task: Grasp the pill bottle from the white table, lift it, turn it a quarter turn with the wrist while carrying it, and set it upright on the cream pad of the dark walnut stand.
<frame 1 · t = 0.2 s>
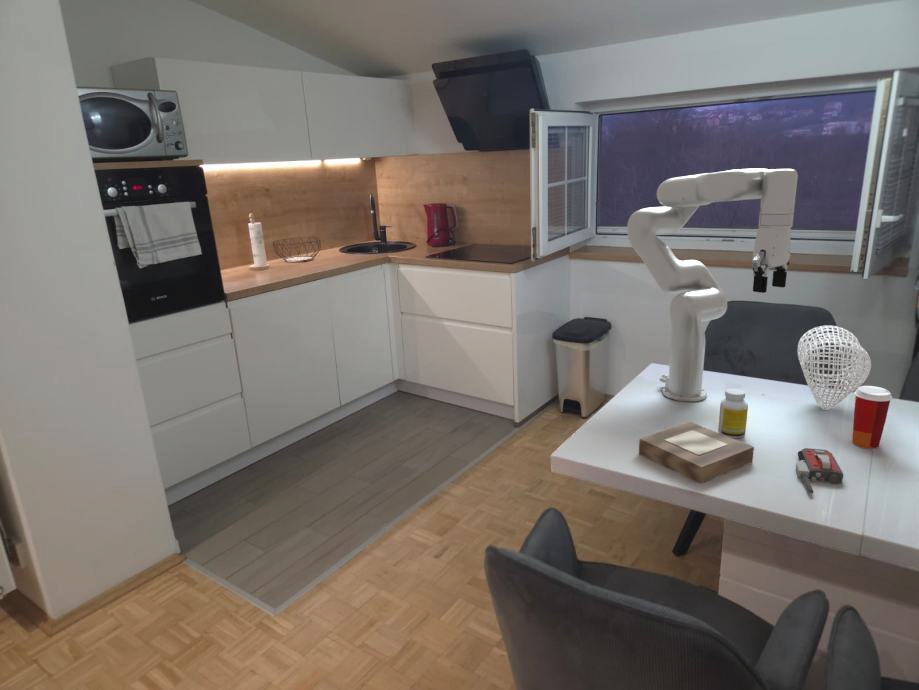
hand: (769, 289, 160), 36 cm above the table, tool pointing down, fingers open, 9 cm apart
stand: (694, 458, 150), on the table
walkie-talkie: (817, 478, 140), on the table
paper cup: (864, 444, 155), on the table
heart: (824, 410, 177), on the table
pill bottle: (731, 434, 163), on the table
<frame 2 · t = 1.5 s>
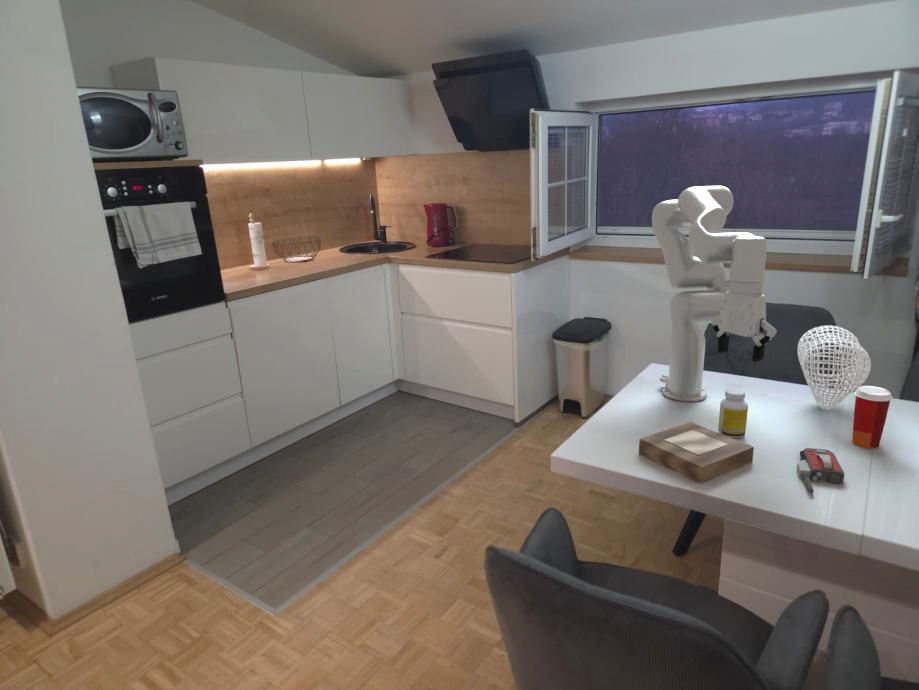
hand: (739, 356, 157), 21 cm above the table, tool pointing down, fingers open, 9 cm apart
nothing on the table moved.
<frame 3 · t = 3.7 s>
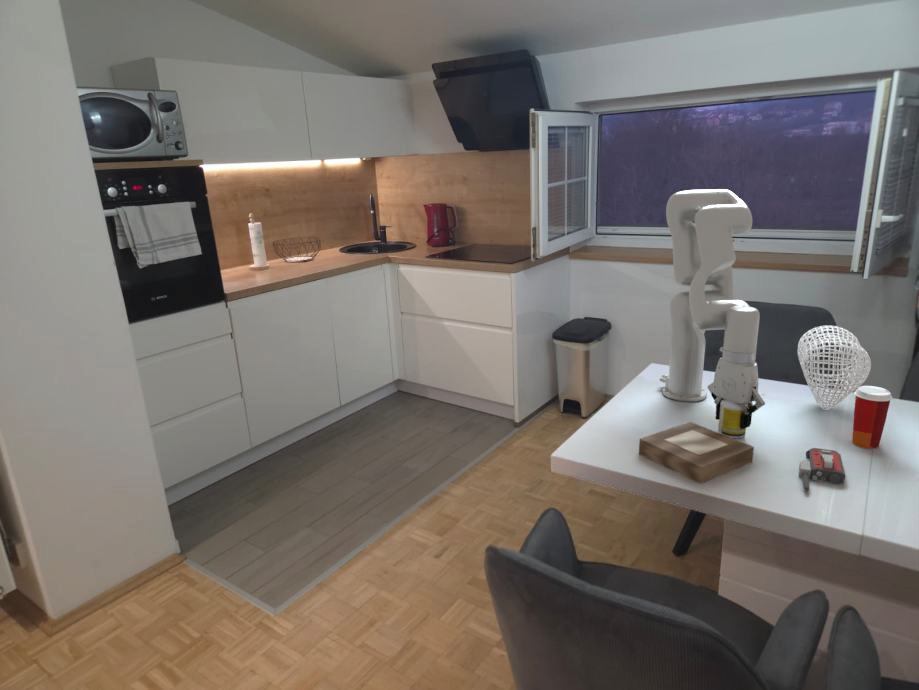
hand: (732, 422, 162), 3 cm above the table, tool pointing down, fingers closed on pill bottle, 6 cm apart
pill bottle: (731, 434, 163), on the table, touching gripper
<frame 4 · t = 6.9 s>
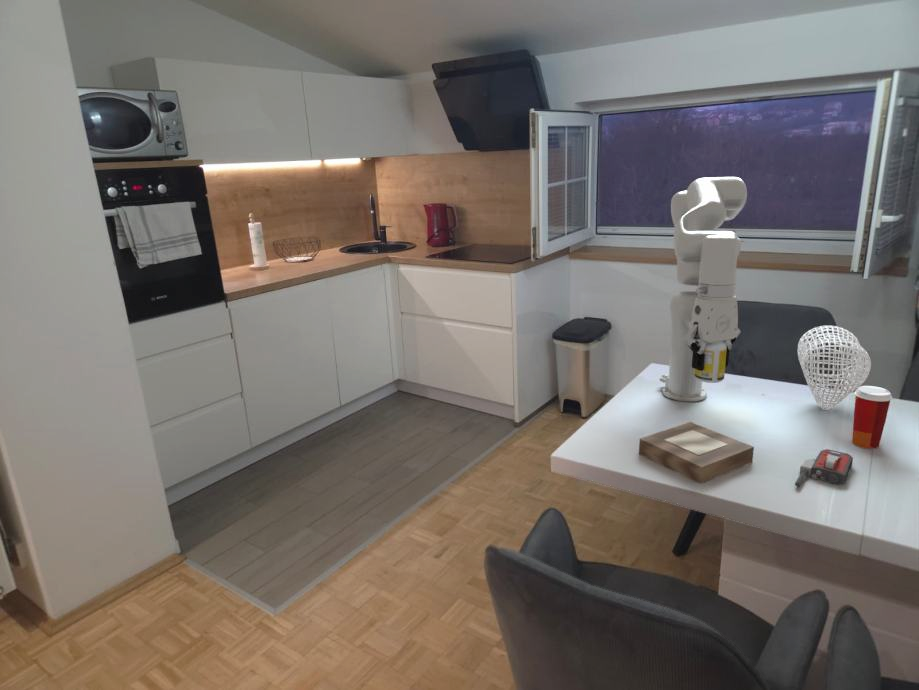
hand: (709, 366, 146), 22 cm above the table, tool pointing down, fingers closed on pill bottle, 6 cm apart
pill bottle: (708, 380, 147), point 19 cm above the table, touching gripper
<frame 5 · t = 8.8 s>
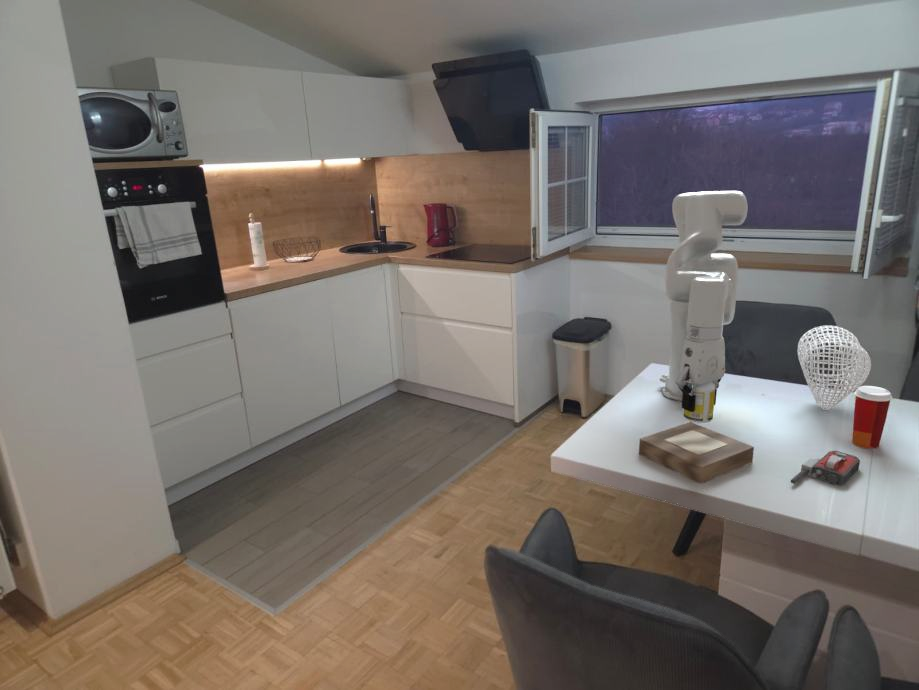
hand: (698, 406, 146), 13 cm above the table, tool pointing down, fingers closed on pill bottle, 6 cm apart
pill bottle: (697, 419, 147), point 10 cm above the table, touching gripper
when the fingers open (9 cm above the table, at t = 10.6 s): pill bottle drops 1 cm, resting on stand.
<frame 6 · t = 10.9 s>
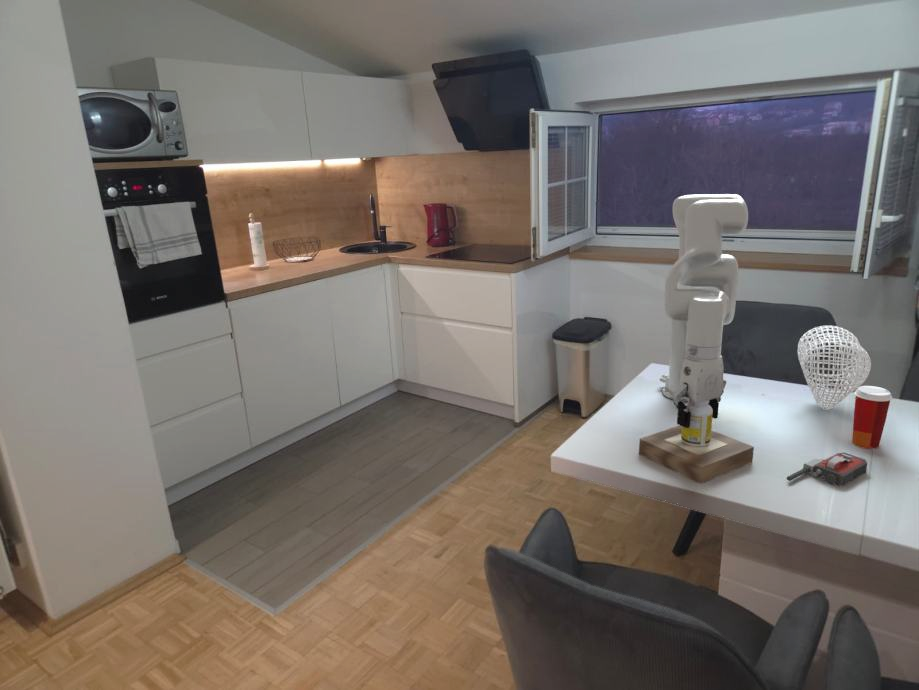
hand: (697, 421, 148), 9 cm above the table, tool pointing down, fingers open, 9 cm apart
pill bottle: (695, 442, 149), point 4 cm above the table, touching stand
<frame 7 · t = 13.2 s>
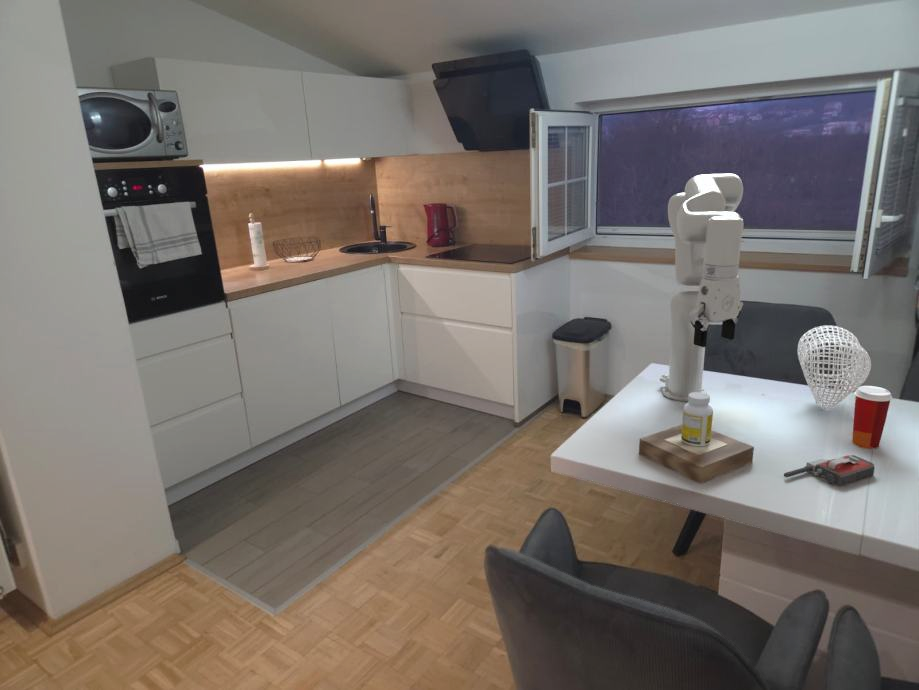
hand: (713, 341, 150), 26 cm above the table, tool pointing down, fingers open, 9 cm apart
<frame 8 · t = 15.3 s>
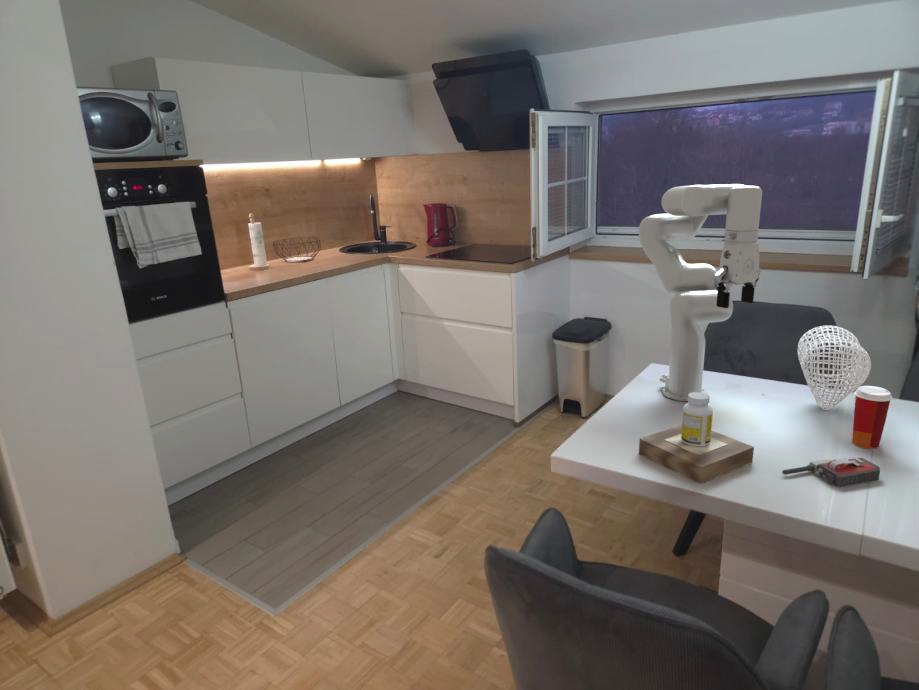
hand: (734, 304, 161), 32 cm above the table, tool pointing down, fingers open, 9 cm apart
at the end: pill bottle inside the target area on the stand (0.1 cm from its centre), point 4.0 cm above the stand's base; pill bottle tilted 0°; the gripper is holding nothing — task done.
